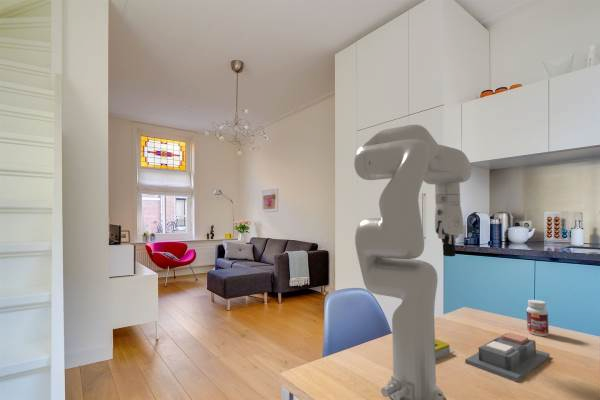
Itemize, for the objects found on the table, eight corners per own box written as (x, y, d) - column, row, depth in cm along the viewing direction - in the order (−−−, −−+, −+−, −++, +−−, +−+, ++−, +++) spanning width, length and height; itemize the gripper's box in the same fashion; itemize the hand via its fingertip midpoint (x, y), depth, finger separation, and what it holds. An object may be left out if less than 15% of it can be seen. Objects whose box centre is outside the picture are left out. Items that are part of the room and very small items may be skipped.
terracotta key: (521, 352, 92) (521, 341, 92) (502, 346, 96) (502, 336, 96) (528, 348, 95) (528, 337, 95) (509, 342, 99) (509, 332, 99)
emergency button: (398, 339, 98) (428, 329, 106) (399, 353, 98) (429, 343, 106) (424, 349, 90) (455, 338, 98) (425, 365, 90) (455, 353, 98)
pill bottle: (530, 335, 111) (529, 302, 112) (524, 329, 117) (523, 298, 117) (551, 337, 109) (550, 304, 110) (545, 331, 115) (543, 300, 115)
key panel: (517, 381, 80) (516, 363, 80) (465, 362, 90) (464, 346, 91) (549, 356, 94) (548, 341, 94) (501, 343, 104) (501, 329, 105)
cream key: (505, 363, 85) (505, 351, 86) (486, 356, 90) (485, 345, 90) (513, 358, 88) (513, 346, 89) (494, 352, 92) (493, 341, 93)
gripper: (446, 199, 98) (448, 258, 97) (470, 200, 107) (471, 255, 106) (424, 200, 104) (425, 256, 103) (448, 201, 113) (450, 253, 112)
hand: (449, 255), depth 104 cm, fingers closed
